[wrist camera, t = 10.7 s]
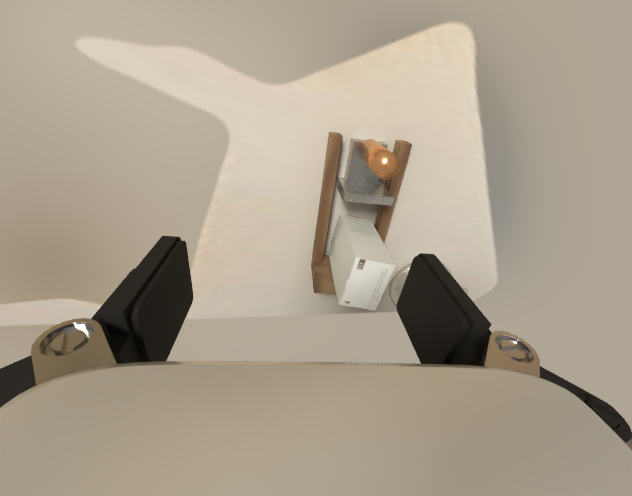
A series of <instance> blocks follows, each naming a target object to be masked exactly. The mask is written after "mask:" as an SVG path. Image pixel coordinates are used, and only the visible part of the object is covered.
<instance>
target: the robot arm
mask: <svg viewBox="0 0 632 496" xmlns="http://www.w3.org/2000/svg"><path fill="white" fill-rule="evenodd" d="M467 293H468V290H467V288H461V287H460V285H459V284H458V283H457V282H456V280H455V279H454V278H453V277H452V275H451V273H450V271H449V270H448V268H447V267H446V266H444V265H443V264H442V263H441V262H440V261H439V259H438V258H437V257H436V256H435V255H434V254H422V253H421V254H419V255H418V256H416V257H414V259H413V261H412V264H410V265H408V266H407V267H405V268H403V269H402V270H401V271H400V272H399V273H398V274H397V275H396V276H395V277H394V279H393V280H392V283H391V285H390V295H391V298H392V300H393V302H394V303H395V304H396V305H397V311H398V314H399V316H400V318H401V320H402V323H403V325H404V327H405V329H406V331H407V333H408V336H409V338H410V340H411V342H412V345H413V347H414V349H415V351H416V353H417V355H418V358H419V360H420V362H421V364H404V363H401V364H400V363H341V362H257V361H256V362H253V361H241V362H240V361H166V360H167V358H168V356H169V354H170V351H171V349H172V347H173V345H174V342H175V340H176V338H177V336H178V333H179V331H180V329H181V327H182V324H183V322H184V320H185V318H186V315H187V313H188V311H189V309H190V306H191V304H192V301H193V290H192V282H191V275H190V268H189V262H188V254H187V247H186V242H185V241H181V239H180V237H173V236H162V237H161V238H160V239H159V241H158V242H157V243H156V244H155V246H154V247H153V248H152V249H151V250H150V252H149V253H148V254H147V255H146V257H145V258H144V259H143V260H142V261H141V263H140V264H139V265H138V266H137V267H136V268H135V269H133V270H132V271H131V272H130V273H129V274H128V275H127V277H126V278H125V279H124V280H123V281H122V283H121V284H120V285H119V286H118V288H117V289H116V290H115V291H114V292H113V293H112V295H111V296H110V297H109V298H108V299H107V301H106V302H105V303H104V304H103V305H102V306H101V308H100V309H99V310H98V311H97V312H96V314H95V315H94V316H93V317H92V318H91V319H86V318H81V319H73V320H69V321H66V322H63V323H60V324H58V325H56V326H53V327H52V328H50V329H49V330H47V331H45V332H44V333H43V334H41V335H40V336H39V337H38V338H37V339H36V340H35V342H34V344H33V345H32V349H31V356H29V357H26V358H24V359H22V360H20V361H17V362H15V363H13V364H10V365H8V366H6V367H3V368H1V369H0V496H632V432H631V429H630V427H629V425H628V424H627V423H626V421H625V420H624V418H623V417H622V416H621V415H620V414H619V413H618V412H617V411H616V410H615V409H614V408H613V407H612V406H610V405H609V404H608V403H606V402H604V401H602V400H600V399H599V398H597V397H596V396H593V395H592V394H590V393H588V392H586V391H584V390H583V389H581V388H579V387H577V386H575V385H574V384H572V383H570V382H568V381H566V380H564V379H563V378H561V377H559V376H557V375H555V374H553V373H551V372H550V371H548V370H546V369H544V368H542V367H541V366H540V361H539V357H538V355H537V353H536V351H535V350H534V349H533V348H532V347H531V346H530V345H529V344H528V343H527V342H525V341H524V340H523V339H521V338H519V337H517V336H516V335H513V334H510V333H508V332H503V331H495V332H494V333H491V331H490V330H489V327H490V326H491V323H490V322H489V321H488V320H487V319H486V317H485V316H484V315H483V314H482V312H481V311H480V310H479V309H478V307H477V306H476V305H475V304H474V303H473V301H472V300H471V299H470V298H469V296H468V295H467Z"/></svg>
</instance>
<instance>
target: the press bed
mask: <svg viewBox="0 0 632 496" xmlns="http://www.w3.org/2000/svg"><path fill="white" fill-rule="evenodd" d="M342 137H343V136H342V135H341V134H340V133H332V132H329V137H328V145H327V152H326V160H325V167H324V174H323V182H322V189H321V196H320V204H319V211H318V219H317V226H316V233H315V241H314V248H313V255H312V263H311V268H312V278H313V288H314V293H327V294H336V291H335V286H334V280H333V275H332V270H331V264H330V259H329V255H324V249H325V243H326V236H327V230H328V224H329V218H330V211H331V205H332V199H333V193H334V187H335V180H336V174H337V168H338V162H339V155H340V149H341V143H342ZM411 147H412V144H410V143H408V142H406V141H399V140H396V142H395V146H394V150H393V154H394V155H396V156H397V157H398V158H399V160H400V170H399V172H398V174H397V175H396V176H395V177H393V178H391V179H388V180H386V181H385V185H384V187H385V188H386V189H387V190H388V191H389V192H390V193H391V195H392V196H393V197H394V200H393V204H392V206H390V205H379V209H378V213H377V217H376V220H375V224H374V227H375V229H376V230H377V232H378V234H379V236H380V238H381V239H382V241H383V243H384V241H385V237H386V234H387V230H388V227H389V223H390V220H391V216H392V213H393V209H394V206H395V202H396V199H397V195H398V192H399V188H400V185H401V182H402V178H403V175H404V171H405V168H406V164H407V161H408V157H409V154H410V150H411ZM383 294H384V293H383Z"/></svg>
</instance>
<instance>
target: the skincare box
mask: <svg viewBox="0 0 632 496" xmlns="http://www.w3.org/2000/svg"><path fill="white" fill-rule="evenodd" d="M328 254H329V259H330V264H331V270H332V275H333V280H334V286H335V291H336V296H337V301H338V305H342V306H349V307H356V308H363V309H368V310H376V309H377V307H378V304H379V302H380V300H381V298H382V296H383V293H384V291H385V289H386V287H387V285H388V282H389V280H390V278H391V276H392V274H393V272H394V269H395V267H396V264H395V263H394V261H393V259H392V257H391V255H390V254H389V252H388V250H387V248H386V247H385V245H384V243H383V241H382V239H381V238H380V236H379V234H378V232H377V230H376V229H375V227H374V225H373V223H372V222H371V220H367V219H362V218H358V217H353V216H349V215H344V214H340V216H339V219H338V222H337V225H336V228H335V231H334V234H333V238H332V241H331V245H330V248H329V251H328Z"/></svg>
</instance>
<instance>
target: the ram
mask: <svg viewBox="0 0 632 496" xmlns="http://www.w3.org/2000/svg"><path fill="white" fill-rule="evenodd" d="M387 146H388V145H387V144H385V143H384V142H376V141H375V140H372V139H369V140H359V139H351V143H350V149H349V155H348V160H347V166H346V172H345V177H344V178H338V182H337V186H338V189H339V191H340V193H341V196H342V198H343V201H344V202H356V203H367V204H379V205H390V206H392V204H393V200H394V197H393V196H392V195H391V193H390V192H389V191H388V190H387V189H386V188H385V187H384V185H383V184H382V183H381V182H379V179H380V178H381V179H383V180H388V179H391V178H393V177H395V176H396V175H397V174H398V172H399V170H400V160H399V158H398V157H397V156H396V155H394V154H393V153H391V152H390V151H389V150H387Z"/></svg>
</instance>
